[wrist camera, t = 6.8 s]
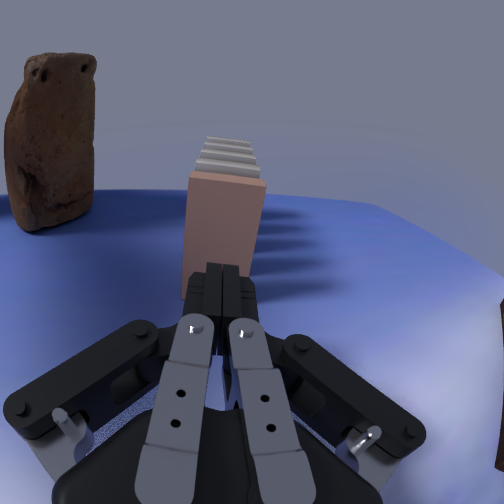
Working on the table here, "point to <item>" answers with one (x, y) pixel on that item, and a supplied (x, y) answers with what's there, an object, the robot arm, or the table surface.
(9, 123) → the block
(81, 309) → the table surface
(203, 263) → the domino
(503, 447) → the picture frame
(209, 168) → the domino
